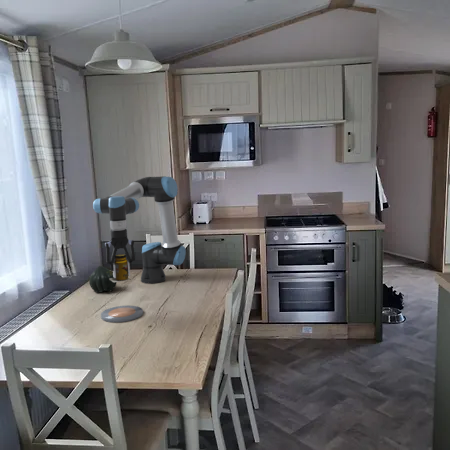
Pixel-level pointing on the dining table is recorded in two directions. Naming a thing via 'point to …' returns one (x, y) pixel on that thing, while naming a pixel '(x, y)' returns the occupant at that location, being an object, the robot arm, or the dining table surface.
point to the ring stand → (122, 313)
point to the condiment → (120, 268)
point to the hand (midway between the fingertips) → (121, 276)
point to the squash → (102, 280)
